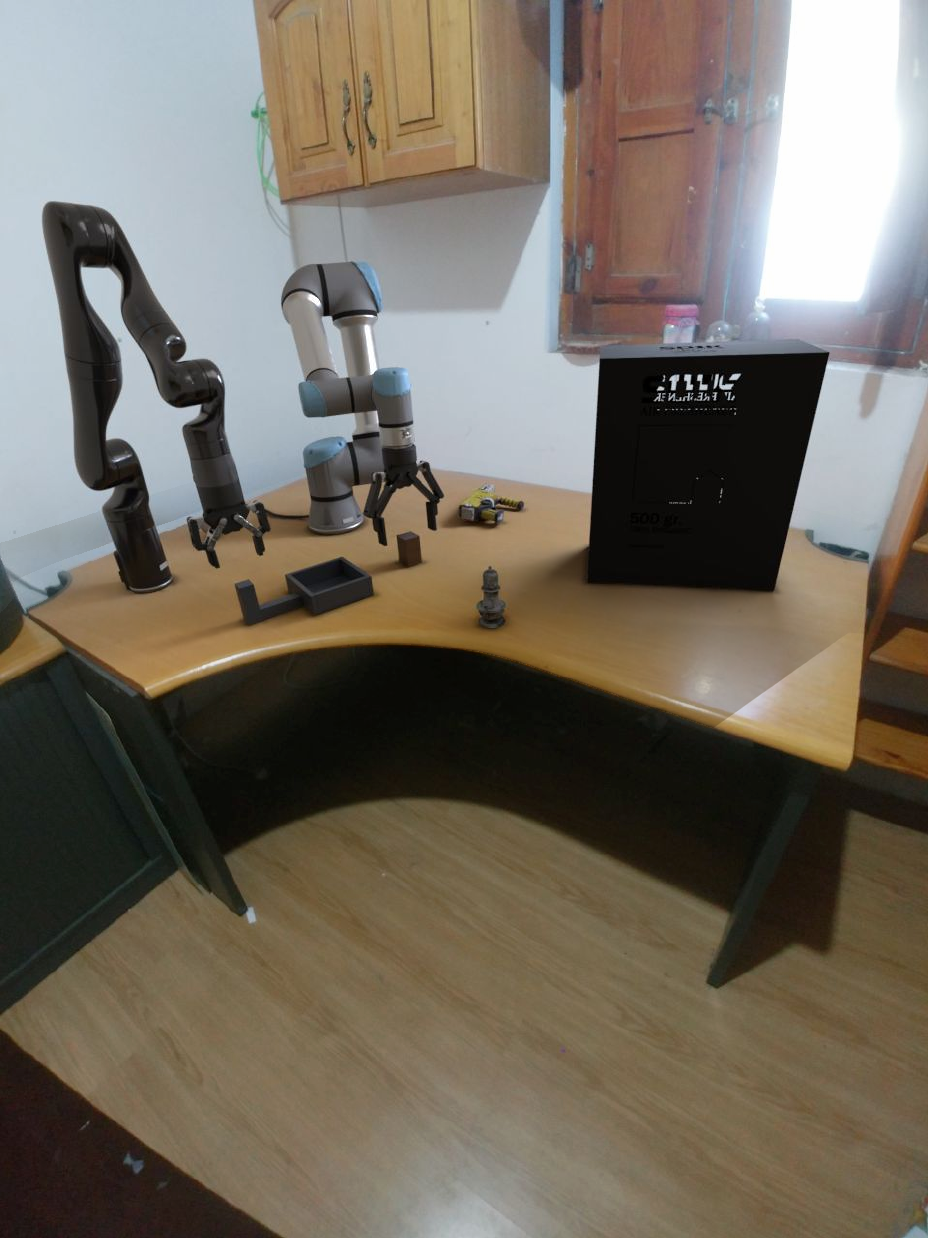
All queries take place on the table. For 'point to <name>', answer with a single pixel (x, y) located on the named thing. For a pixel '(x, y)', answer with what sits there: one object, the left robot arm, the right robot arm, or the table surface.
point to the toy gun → (486, 505)
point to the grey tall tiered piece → (491, 601)
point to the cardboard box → (699, 461)
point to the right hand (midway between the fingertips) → (408, 536)
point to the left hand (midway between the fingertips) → (239, 560)
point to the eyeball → (205, 527)
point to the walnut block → (409, 549)
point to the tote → (309, 590)
